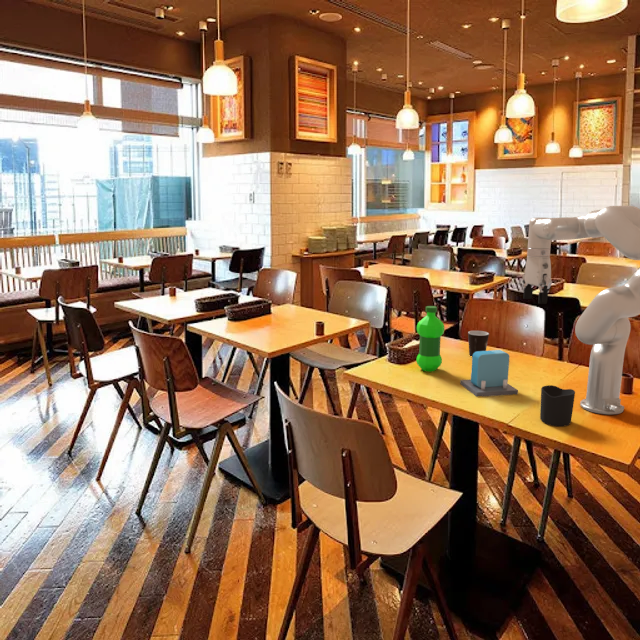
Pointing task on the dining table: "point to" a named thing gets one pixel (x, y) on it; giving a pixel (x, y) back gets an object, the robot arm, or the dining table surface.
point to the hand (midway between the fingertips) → (534, 301)
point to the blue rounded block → (490, 368)
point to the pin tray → (489, 389)
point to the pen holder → (556, 405)
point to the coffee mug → (477, 341)
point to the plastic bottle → (429, 340)
